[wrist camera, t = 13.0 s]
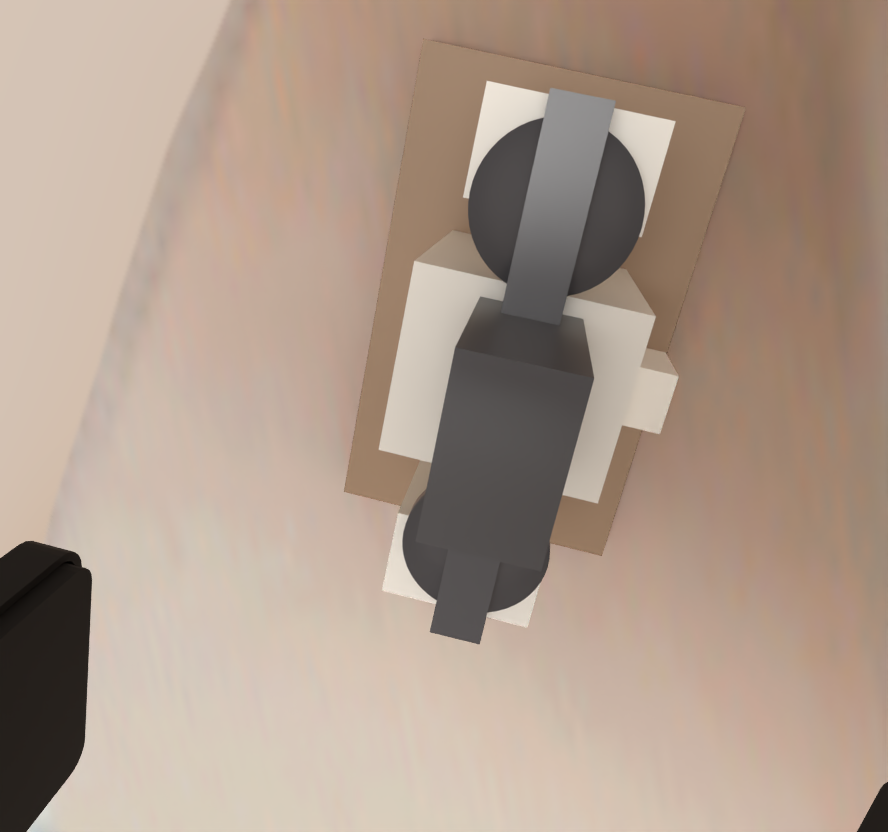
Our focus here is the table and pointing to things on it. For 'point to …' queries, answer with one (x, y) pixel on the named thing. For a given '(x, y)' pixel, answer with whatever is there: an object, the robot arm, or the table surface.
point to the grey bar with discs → (521, 360)
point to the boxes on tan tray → (468, 277)
